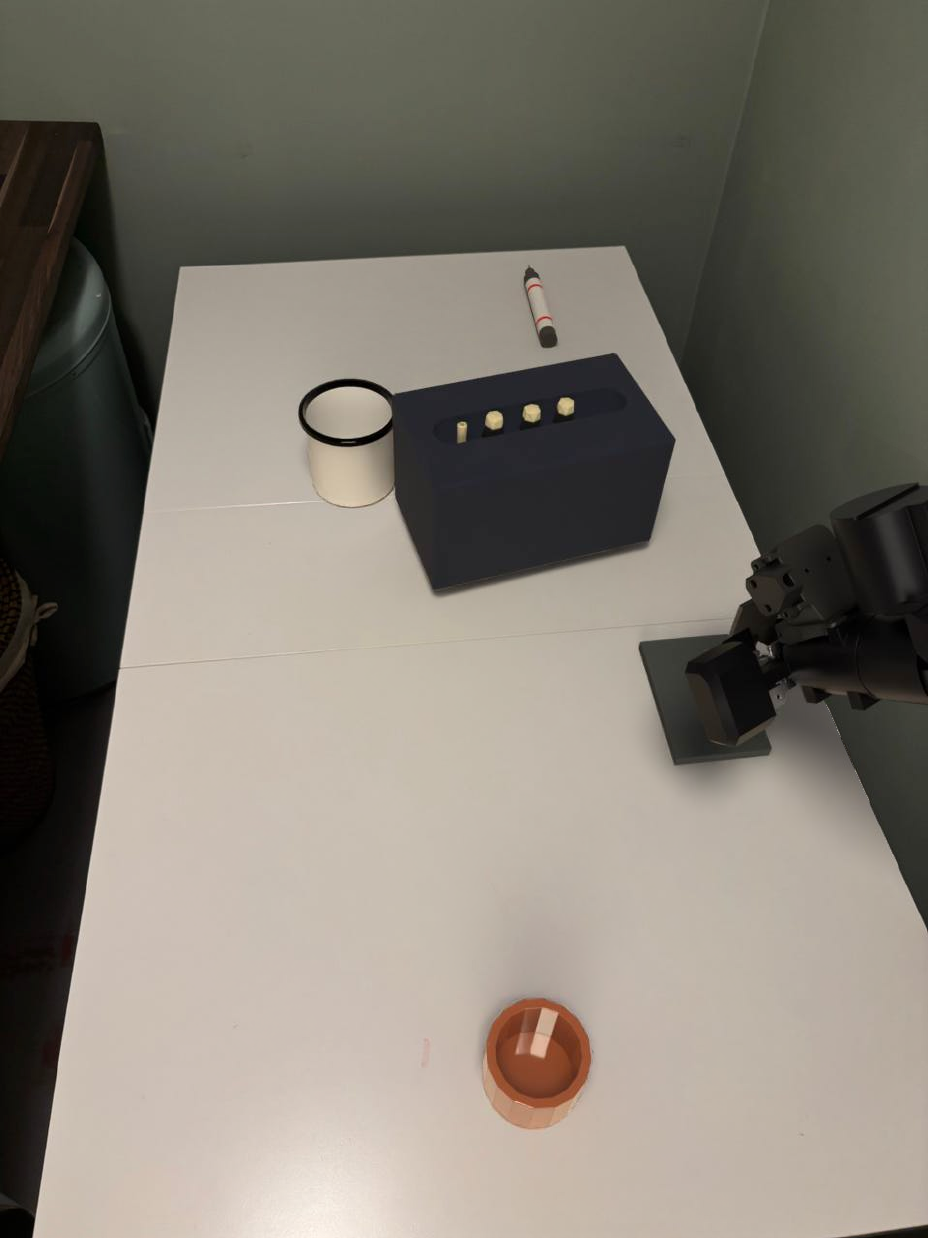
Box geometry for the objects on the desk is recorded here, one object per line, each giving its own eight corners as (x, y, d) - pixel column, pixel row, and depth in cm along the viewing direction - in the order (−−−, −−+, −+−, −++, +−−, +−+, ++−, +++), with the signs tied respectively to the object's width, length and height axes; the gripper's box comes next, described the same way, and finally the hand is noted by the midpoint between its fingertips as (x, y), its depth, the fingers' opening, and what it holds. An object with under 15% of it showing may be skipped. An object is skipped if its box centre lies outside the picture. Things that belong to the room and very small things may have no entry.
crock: (599, 1071, 65) (611, 1047, 61) (539, 1153, 62) (547, 1133, 58) (524, 1005, 68) (530, 977, 63) (462, 1080, 65) (464, 1056, 60)
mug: (308, 516, 97) (299, 445, 90) (305, 451, 102) (296, 380, 95) (430, 507, 98) (430, 436, 91) (420, 443, 104) (420, 372, 97)
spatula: (749, 698, 81) (798, 586, 71) (705, 723, 80) (748, 613, 69) (737, 685, 82) (783, 573, 71) (693, 710, 80) (733, 599, 70)
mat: (769, 755, 81) (772, 749, 80) (674, 765, 80) (676, 759, 79) (725, 640, 88) (727, 633, 88) (638, 648, 87) (640, 641, 87)
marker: (556, 347, 115) (558, 332, 113) (540, 348, 115) (541, 333, 113) (535, 273, 124) (536, 259, 123) (519, 274, 124) (521, 259, 123)
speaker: (596, 465, 102) (617, 342, 91) (649, 552, 95) (679, 431, 83) (394, 508, 98) (390, 384, 86) (433, 603, 90) (433, 482, 78)
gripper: (952, 481, 64) (784, 502, 78) (739, 596, 57) (598, 596, 72) (998, 638, 66) (826, 630, 80) (797, 766, 59) (649, 733, 74)
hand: (729, 644), depth 77 cm, fingers closed on spatula, 4 cm apart
